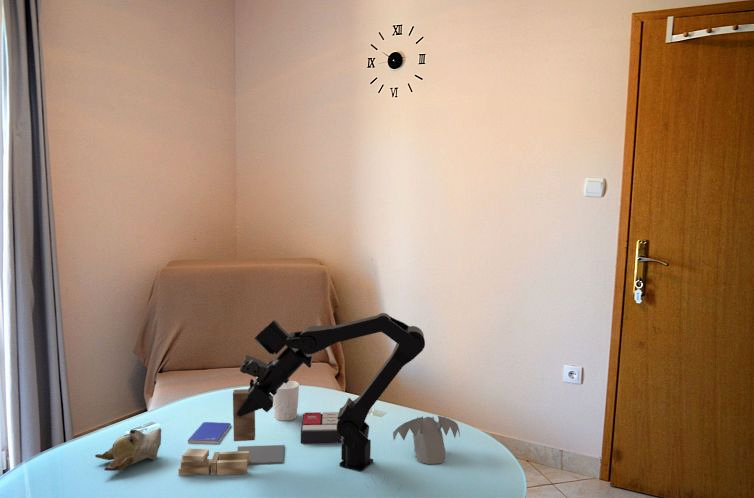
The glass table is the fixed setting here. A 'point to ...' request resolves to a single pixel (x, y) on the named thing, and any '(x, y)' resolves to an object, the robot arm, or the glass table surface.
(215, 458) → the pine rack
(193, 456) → the offcut stack
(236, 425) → the walnut block
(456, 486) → the glass table surface
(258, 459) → the charcoal mat
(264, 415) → the glass table surface
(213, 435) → the hard drive
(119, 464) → the ceramic sculpture
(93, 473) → the glass table surface
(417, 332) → the robot arm
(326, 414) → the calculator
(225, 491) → the glass table surface
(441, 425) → the figurine
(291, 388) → the white cup
